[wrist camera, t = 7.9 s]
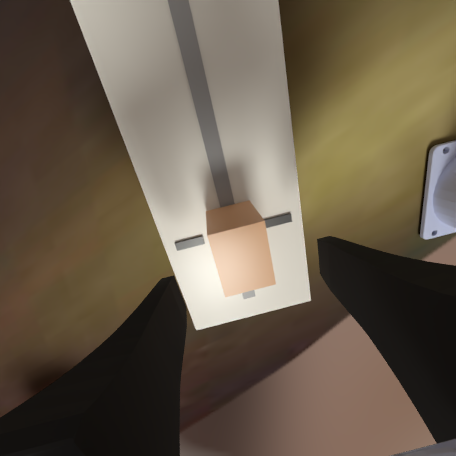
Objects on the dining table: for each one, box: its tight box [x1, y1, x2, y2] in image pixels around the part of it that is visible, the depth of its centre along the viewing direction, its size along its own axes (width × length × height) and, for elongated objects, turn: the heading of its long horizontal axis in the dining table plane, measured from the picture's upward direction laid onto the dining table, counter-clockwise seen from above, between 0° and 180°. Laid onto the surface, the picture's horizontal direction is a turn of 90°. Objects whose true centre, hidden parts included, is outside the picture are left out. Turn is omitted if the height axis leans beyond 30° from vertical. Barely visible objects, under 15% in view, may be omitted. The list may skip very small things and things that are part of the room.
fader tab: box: [206, 200, 276, 297], centre depth 14 cm, size 3×4×4 cm
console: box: [70, 0, 311, 330], centre depth 15 cm, size 10×26×2 cm, turn 13°
